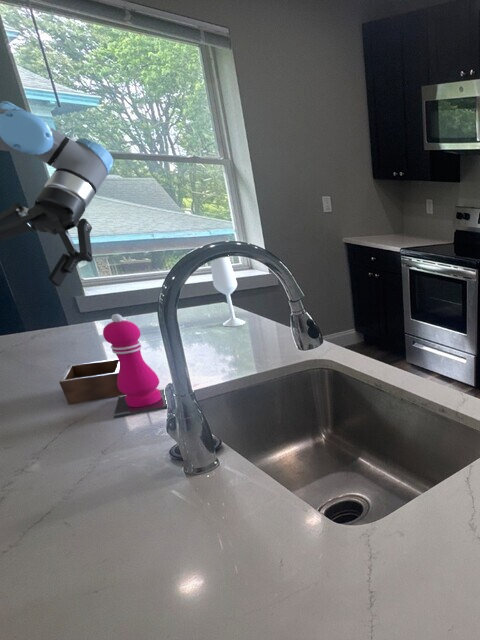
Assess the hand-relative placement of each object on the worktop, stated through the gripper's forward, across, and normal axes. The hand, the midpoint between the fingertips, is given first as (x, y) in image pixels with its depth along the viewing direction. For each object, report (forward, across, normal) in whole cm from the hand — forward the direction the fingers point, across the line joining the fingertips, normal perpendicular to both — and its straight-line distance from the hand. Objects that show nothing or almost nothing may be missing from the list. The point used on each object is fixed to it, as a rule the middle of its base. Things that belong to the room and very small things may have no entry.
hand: (15, 274), depth 96 cm
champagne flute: (-23, -23, -51) cm, 60 cm away
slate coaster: (+19, -27, -11) cm, 35 cm away
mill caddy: (+16, -14, -18) cm, 28 cm away
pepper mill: (+19, -27, -11) cm, 34 cm away
